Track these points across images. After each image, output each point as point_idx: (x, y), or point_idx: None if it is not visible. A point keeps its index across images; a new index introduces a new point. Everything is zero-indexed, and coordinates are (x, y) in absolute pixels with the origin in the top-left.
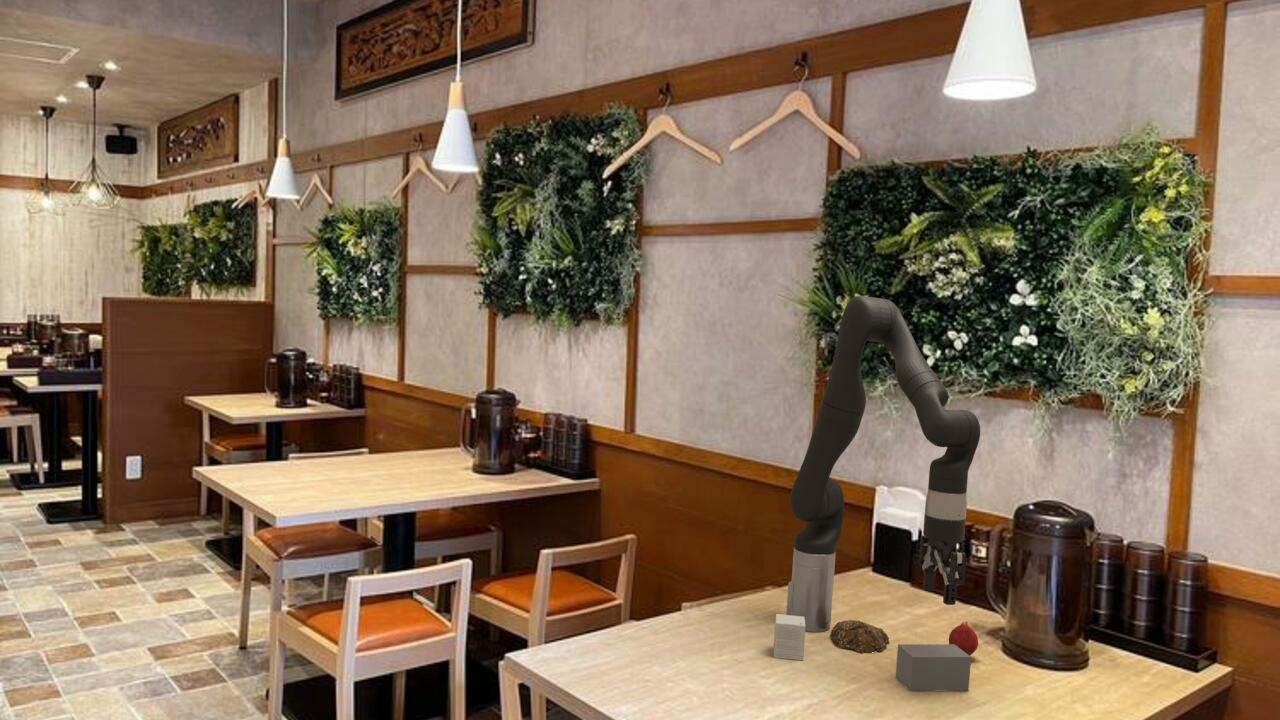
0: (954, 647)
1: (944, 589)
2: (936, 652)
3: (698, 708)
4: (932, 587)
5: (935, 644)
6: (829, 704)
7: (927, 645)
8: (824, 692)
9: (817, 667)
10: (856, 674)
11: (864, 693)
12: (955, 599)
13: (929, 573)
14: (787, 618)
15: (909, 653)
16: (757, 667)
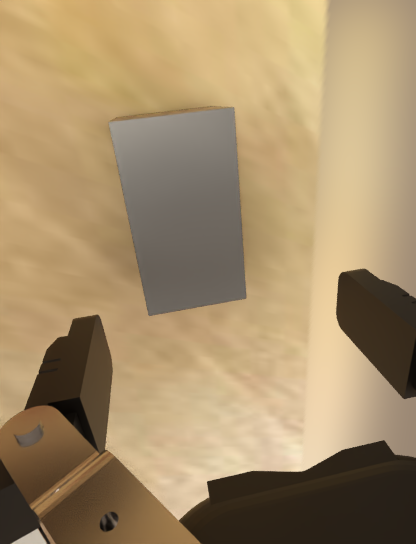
0: (144, 136)
1: (388, 373)
2: (203, 220)
3: None
4: (99, 335)
5: (125, 199)
6: (287, 402)
7: (140, 230)
8: (239, 406)
9: (119, 409)
10: (143, 348)
11: (240, 347)
12: (400, 290)
13: (96, 433)
14: (32, 533)
15: (220, 301)
16: None
